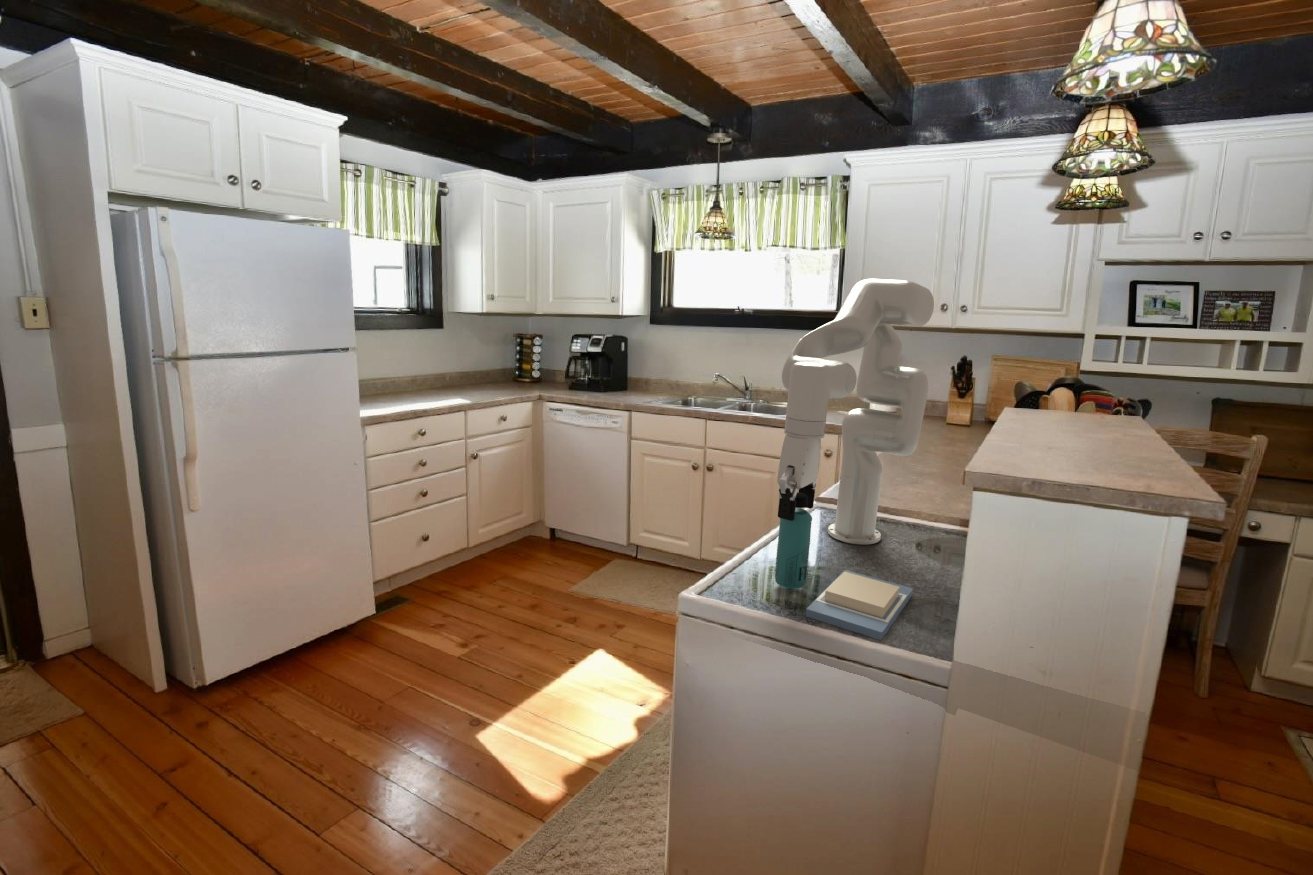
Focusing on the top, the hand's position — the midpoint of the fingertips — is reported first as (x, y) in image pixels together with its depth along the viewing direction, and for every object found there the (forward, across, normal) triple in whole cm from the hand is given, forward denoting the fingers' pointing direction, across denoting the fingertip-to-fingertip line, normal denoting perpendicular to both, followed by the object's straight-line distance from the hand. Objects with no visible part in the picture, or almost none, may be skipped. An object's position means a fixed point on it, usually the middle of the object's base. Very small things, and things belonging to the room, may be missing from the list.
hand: (795, 512), depth 135 cm
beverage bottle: (+16, -1, 0) cm, 17 cm away
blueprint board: (+16, -3, +14) cm, 22 cm away
